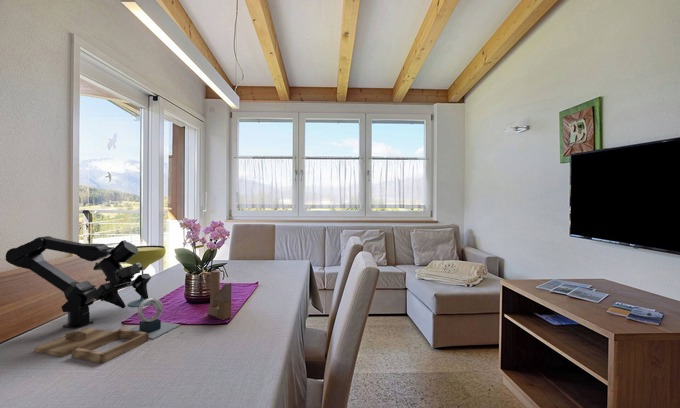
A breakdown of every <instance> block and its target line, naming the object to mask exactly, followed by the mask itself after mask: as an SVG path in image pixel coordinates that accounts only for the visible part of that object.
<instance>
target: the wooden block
mask: <svg viewBox="0 0 680 408" xmlns="http://www.w3.org/2000/svg"><path fill="white" fill-rule="evenodd" d="M209 277H210V278H209V279H210V283H209V284H210V290H209V291H210V293H209V294H210V295H209V298H210V299H209V300H210V302H209V306H207V307H208V308H207V310H208V311H207V314H208V315H209V316H212V317H214V318H216V319H219V320H221V319H222V321H226V320H229V319H231V318H232V282H230V283H224V284H223V285H222V287H221V286H220V285H221V271H220V270H211V271H210V276H209ZM220 287H221V288H220ZM228 318H229V319H228ZM225 319H226V320H225Z"/></svg>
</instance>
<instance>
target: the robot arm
mask: <svg viewBox="0 0 680 408" xmlns="http://www.w3.org/2000/svg"><path fill="white" fill-rule="evenodd" d="M46 250H51V251H55V252H60V253H66V254H70V255H76V256H77V257H79V258H80V259H82V260H85V261H88V262H94V261H99V260H100V261H99V262H95V264H94V266H93V269H92V270H93V271H101V272H102V273H103V274H104V276H105V277H106V278H105V279H104V281H105V282H106V283H102V284H100V285H99V287H97V286H96V285H94V284H92V283H91V282H90V281H89V280H83V281H81V282H79V281H77V280H75V279H74V278H72V277H71V276H69V275H67V274H66V273H65V272H63V271H61V270H60V269H59V268H57V267H55V266H54V265H53V264H51V263H49V262H48V261H47V260H46V259H44V256H43V253H44V252H45V251H46ZM137 252H138V249H137V247H136V245H135V244H132V243H131V242H128V241H127V240H125V239H124V240H120V241H119V242H118V244H117V245H116V246H115V247H110V246H109V245H107V244H105V243H81V242H76V241H72V240H65V239H61V238H56V237H53V236H50V235H48V236H47V235H45V236H39V237H36V238H34V239H33V240H31V241H29V242H26V243H24V244H21V245H19V246H17V247H13V248H12V247H11V248H10V249H8V250H7V251H6V253H5V261H6V262H7V263H8V264H10V265H13V266H15V267H18V268H21V269H26V270H29V271H31V272H32V273H34V274H35V275H37V276H39V277H41V278H42V279H44V280H45V281H46V282H48V283H49V284H51V286H52V285H53V286H54V287H55V288H56V289H58V290H60V291H62V293H63V294H64V295H63V296H64V297H65V300H67V301H66V302H65V303H64V304H62V306H61V310H62V312H63V313H67V323H66V324H65V323H64V324H63V325H62V327H64V328H69V329H78V328H80V327H83V326H87V325H89V324H91V323H94V320H91V319H90V318H91V316H90V306H91V305H94V303H95V301H99V300H100V302H103V301H104V302H105V303H110V304H113V305H114V306H117V307H119V308H121V309H126V304H125V301H124V300H123V299H122V297H121V296H120V295H119V292H118V291H119V290H121V289H125V288H129V287H133V289H134V291H135V292H136V293H137V294H138V295H139V296H140V298H141V297H142V298H144V299H145V300H146V299H148V298H149V293H148V287H147V286H148V285H147V284H148V283H149V282H150V280H151V279H152V276H150V274H149V273H143V274H142V273H141V272H142V271H141V270H142V269H143V267H142V265H141V264H140V263H135V264H133V265H132V264H131V265H129V266H125V267H123V266H122V265H121V263H124V264H125V263H126V262H127V261H128V260H129V259H130V258H131V257H133V256H134V255H135V254H136V253H137ZM139 273H141V274H139ZM137 274H139V275H137ZM135 275H137V276H136V277H135ZM133 279H134V280H133ZM96 287H97V288H96Z"/></svg>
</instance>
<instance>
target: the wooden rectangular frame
mask: <svg viewBox="0 0 680 408" xmlns="http://www.w3.org/2000/svg"><path fill="white" fill-rule="evenodd" d="M111 332H112V333H109V334H107V335H104V336H102V337H100V338H97V339H95V340H92V341H90V342H88V343H85V344H83V345H80V346H78V347H76V348H73V349H72V353H71V358H72V359H73V358H74V359H78V360H84V361H88V362H94V363H100V364H104V363H106V362H108V361H111V360H112V359H114V358H116V357H118V356H121V355H122V354H124V353H126V352H129V351H130V350H132V349H134V348H136V347H138V346H140V345H142V344H144V343H147V342H148V341H149V339H148V336H149V333H146V332H139V331H133V330H130V329H125V328H119V329H116V330H115V331H111ZM117 339H128V340H127V341H125V342H123V343H121V344H119V345H116V346H114V347H112V348H111V349H109V350H107V351H104V352H103V351H97V350H95V349H97V348H99V347H102V346H104V345H106V344H109V343H111V342H114V341H115V340H117Z"/></svg>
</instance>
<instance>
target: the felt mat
mask: <svg viewBox="0 0 680 408" xmlns="http://www.w3.org/2000/svg"><path fill="white" fill-rule="evenodd" d="M180 326H181V324H179V323H173V322H164V321H161V329H158V330H156V331H153V332H150V333H149V336H148V340H155V339H157V338H159V337H160V336H163V335H165V334H167V333H169V332H170V331H172V330H175V329H177V328H179V327H180ZM129 330H133V331H139V332H144V331H141V330H139V325H136V326H134V327H132V328H129ZM146 333H147V332H146Z"/></svg>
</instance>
